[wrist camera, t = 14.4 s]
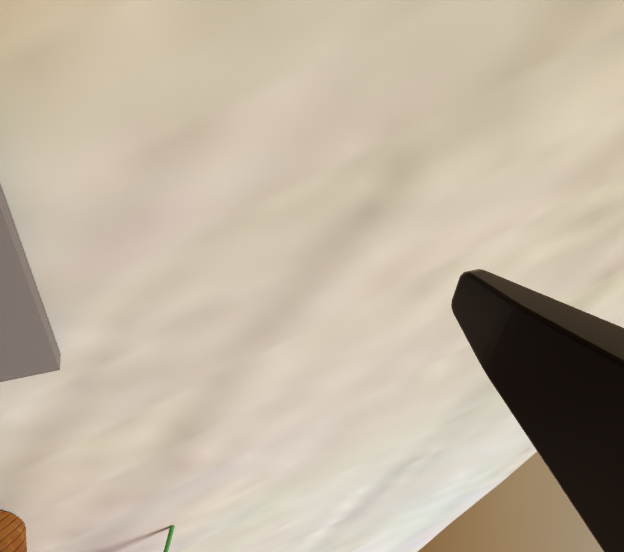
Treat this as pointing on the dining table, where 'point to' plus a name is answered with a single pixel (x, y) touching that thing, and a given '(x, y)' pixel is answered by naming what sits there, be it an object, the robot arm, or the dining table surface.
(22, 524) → the disposable coffee cup
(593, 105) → the dining table surface
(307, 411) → the dining table surface
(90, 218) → the dining table surface
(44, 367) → the rest mat
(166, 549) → the lily
